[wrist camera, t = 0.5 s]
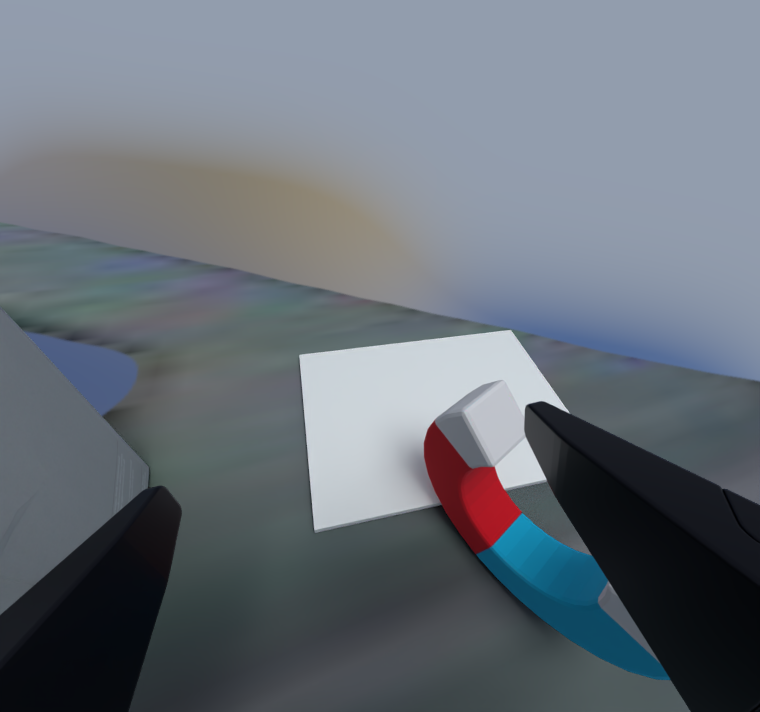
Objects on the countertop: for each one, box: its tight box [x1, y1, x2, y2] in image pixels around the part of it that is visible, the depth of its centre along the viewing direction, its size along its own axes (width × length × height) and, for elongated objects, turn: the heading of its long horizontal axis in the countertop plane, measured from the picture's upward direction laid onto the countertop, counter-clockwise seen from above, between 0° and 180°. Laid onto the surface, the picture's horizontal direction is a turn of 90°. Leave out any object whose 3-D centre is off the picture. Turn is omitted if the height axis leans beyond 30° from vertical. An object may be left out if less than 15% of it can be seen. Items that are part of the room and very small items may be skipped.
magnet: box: [424, 380, 670, 680], centre depth 16 cm, size 12×3×10 cm, turn 38°
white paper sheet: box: [299, 330, 569, 533], centre depth 26 cm, size 14×20×1 cm
